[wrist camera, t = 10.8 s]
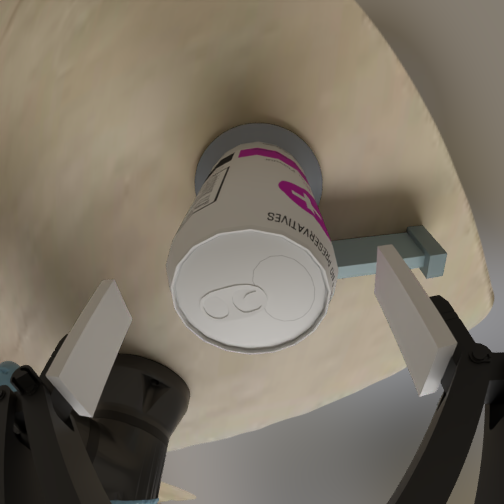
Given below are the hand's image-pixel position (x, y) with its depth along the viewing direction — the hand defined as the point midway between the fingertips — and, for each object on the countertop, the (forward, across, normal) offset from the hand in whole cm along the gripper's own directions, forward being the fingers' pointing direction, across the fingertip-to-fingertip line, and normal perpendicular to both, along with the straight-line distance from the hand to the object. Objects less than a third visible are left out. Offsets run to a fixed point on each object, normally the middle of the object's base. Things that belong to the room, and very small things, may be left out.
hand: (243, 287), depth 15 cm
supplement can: (+14, +1, 0) cm, 14 cm away
